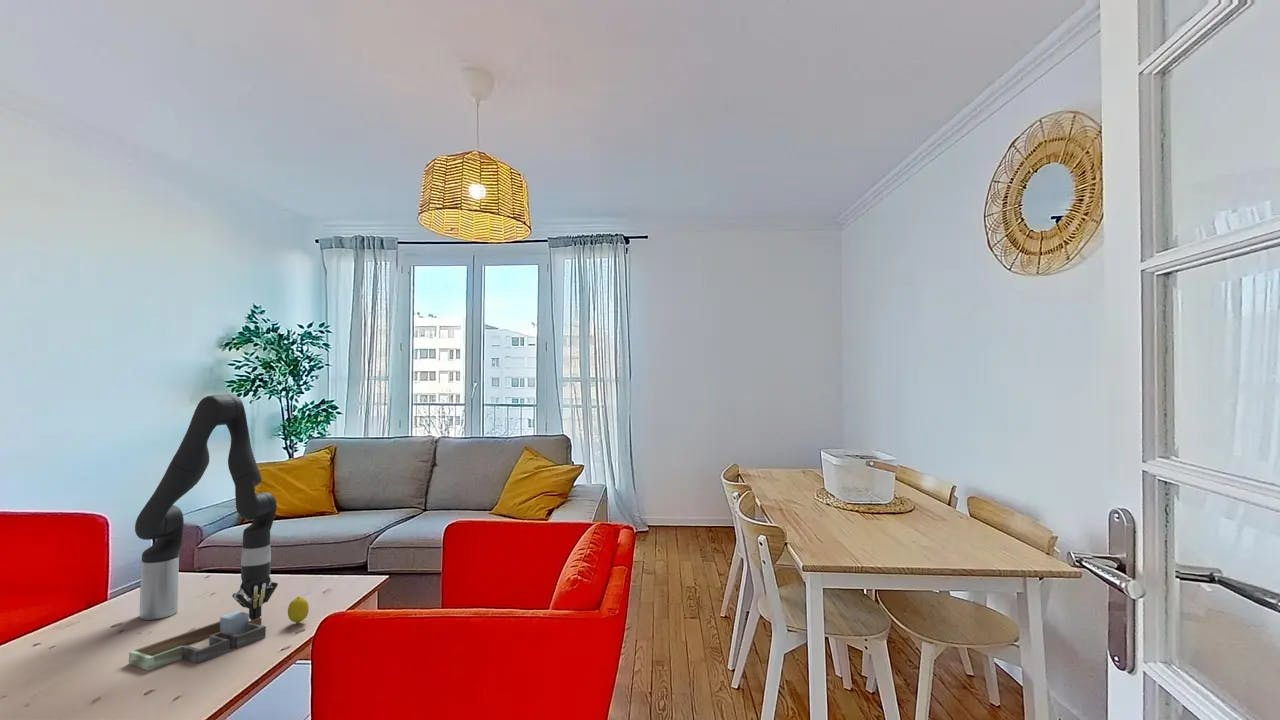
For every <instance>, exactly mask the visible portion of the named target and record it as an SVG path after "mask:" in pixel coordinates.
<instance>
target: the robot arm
mask: <svg viewBox="0 0 1280 720" xmlns="http://www.w3.org/2000/svg"><path fill="white" fill-rule="evenodd" d="M188 425H189V426H188V428H187V431H186V433H185V434H184V437H183V439H182V441H181V442H180V445H179V446H178V449H177V450H176V452H175V454H174V455H173V457H172V459H171V461H170V462H169V464H168V467H167V468H166V470H165V473H164V475H163V476H162V478H161V480H160V482H159V484H158V485H157V488H156V489H155V491H154V492H153V493H152V495H151V497H150V498H149V500H148V501H147V502H146V503H145V505H144V507H143V508H142V509H141V511H140V513H139V514H138V516H137V517H136V520H135V524H134V532H135V534H136V536H137V538H139V539H140V540H144V541H145V540H146V541H148V540H155V539H156V541H155V542H154V543H153V544H152V545H151V546H149V547H148V548H147V549H145V550H144V551H143V552H142V553H141V577H140V580H141V581H140V586H139V587H140V588H139V589H140V590H139V591H140V593H139V616H140V617H139V618H140V619H141V620H143V621H144V620H145V621H149V620H151V621H152V620H158V619H164V618H168V617H170V616H173V615H175V614H177V613H178V610H179V609H178V607H179V605H178V604H179V570H180V569H179V568H180V567H179V566H180V565H179V563H180V561H179V560H180V550H181V549H182V545H183V536H184V535H183V534H184V520H185V519H184V514H183V512H182V510H181V508H180V507H179V506H178V505H174V504H175V503H176V502H177V501H178V500H180V499H181V498H182V497H184V496H185V494H187V493H188V492H189V491H191V490H192V489H193V488H194V487H195V486H196V485H197V484H198V483H199V482H200V480H201V478H203V475H204V474H205V472H206V469H207V468H208V467H209V464H210V452H209V447H208V441H209V439H210V437H211V435H212V433H213V432H214V429H215V428H216V427H218V426H224V425H225V426H226V427H227V429H228V432H229V435H230V446H229V447H230V448H229V452H228V458H227V466H228V470H229V473H230V476H231V479H232V482H233V483H234V488H235V490H234V491H235V492H234V494H235V495H234V496H235V507H236V508H235V509H236V512H237V513H238V515H239V516H240V517H241V518H242V519H244V520H247V521H250V520H251V521H252V523H251V524H250V525H249V526H247V527H245V528H244V530H243V533H242V550H241V551H242V552H241V555H240V556H241V561H240V563H241V564H240V567H241V568H240V578H241V579H240V580H241V584H240V586H239V590H238V591H237V592H236V593H232V595H231V597H232V598H233V599H234V600H235V602H237V603H238V604H239V605H240V606H241V607H242V608H246V609H248V614H249V619H250V621H251V620H254V619H257V618H261V617H262V606H263V604H266V603H268V602H269V600H270V599H271V597H272V596H273V594H274V592H275V590H276V589H277V587H278V582H274V581H272V579H271V577H270V575H271V570H272V569H271V567H272V566H271V565H272V561H271V559H272V549H271V529H272V526H273V523H274V520H275V516H276V514H277V505H278V503H277V500H276V497H275V496H274V495H273V493H271V492H268V491H267V492H266V491H264V492H259V493H256V487H257V486H258V485H260V484H261V483H262V480H263V479H262V475H261V473H260V470H259V467H258V463H257V462H256V459H255V455H254V451H253V448H252V444H251V443H252V442H251V438H250V433H249V425H248V421H247V413H246V411H245V406H244V402H243V401H242V399H241V398H240V397H239V396H238V395H235V394H214V395H213V394H212V395H208V396H205V397H203V398H202V399H201V400H200V401H199V403H198V404H197V405H196V408H195V410H194V412H193V415H192V418H191V420H190V422H189V424H188ZM245 596H246V598H245Z"/></svg>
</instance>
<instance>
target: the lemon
mask: <svg viewBox="0 0 1280 720" xmlns="http://www.w3.org/2000/svg"><path fill="white" fill-rule="evenodd" d="M309 610H310V609H309V602H308V600H307V599H306V598H304V597H301V596H297V597H296V598H294V599H292V600H291V601H290V603H289V605H288V608H287V616H288V619H289V620H290V621H291V622H293V623H295V624H297V625H298V624H301V622H302V621H304V620H306V618H307V616H308V614H309Z"/></svg>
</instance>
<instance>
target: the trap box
mask: <svg viewBox="0 0 1280 720" xmlns="http://www.w3.org/2000/svg"><path fill="white" fill-rule="evenodd" d="M266 631H267V629H266V625H262V618H261V617H260V618H257V619H254V620H251V619H250V620H249V622H246V632H244V633H241V634H238V635H237V634H233V633H229V632H220V620H218V621H216V622H213V623H211V624H207V625H204V626H201V627H198V628H196V629H192V630H190V631H187V632H186V631H185V632H184V633H180V634H178V635H175V636H173V637H169V638H166V639H164V640H160V641H157V642H155V643H151V644H149V645H146V646H143V647H139V648H137V649H134V650H131V651H129V653H128V665H130V666H134V667H137V668H140V669H143V670H146V671H151V670H152V671H153V670H155V669H158V668H160V667H162V666H165V665H167V664H171V663H174V662H176V661H178V660H186V661H189V662H193V663H195V664H200V663H202V662H206V661H208V660H211V659H213V658H216V657H218V656H221V655H224V654H226V653H228V652H231V651H230V649H231V648H235V649H239V648H241V647H243V646H244V647H245V646H247V645H249V644H252V643H254V642H256V641H260V640H262V639H265V638H266V637H267V636H266ZM206 638H208V640H209V641H208V643H209V645H208V646H205V647H203V648H197V647H193V646H189V644H193V643H195V642H198V641H201V640H204V639H206Z"/></svg>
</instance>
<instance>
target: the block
mask: <svg viewBox="0 0 1280 720" xmlns="http://www.w3.org/2000/svg"><path fill="white" fill-rule="evenodd" d="M219 618H220V619H219V621H220V632H229V633H233V634H237V635H240V634H243V633H245V632H246V622H249V621H250V620H249V619H250V618H249V612H248V613H247V612H243V611H238V610H237V611H234V612H231V613H227V614H225V615H222V616H219Z"/></svg>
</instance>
